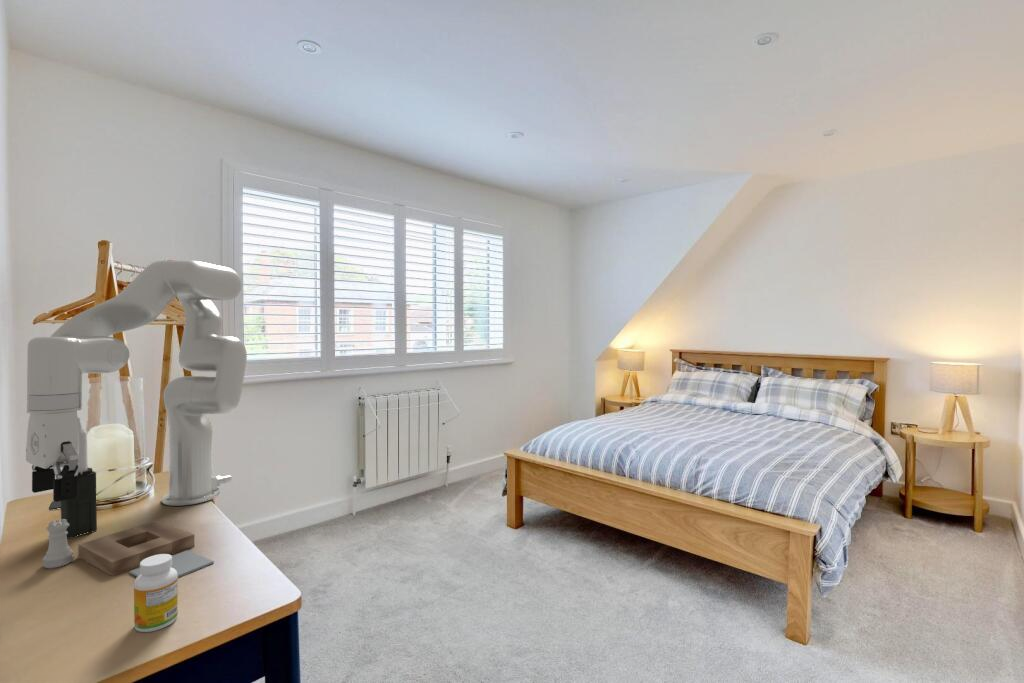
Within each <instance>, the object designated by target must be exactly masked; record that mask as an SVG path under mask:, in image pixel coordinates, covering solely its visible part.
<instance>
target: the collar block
mask: <svg viewBox="0 0 1024 683" xmlns="http://www.w3.org/2000/svg"><path fill="white" fill-rule="evenodd" d="M77 545H78V552H77V553H78V558H79V557H80V558H79V559H81V558H82V559H81V560H83V559H84V560H83V561H85V560H86V561H88V562H89V563H88V562H87V563H88V564H90V563H91V564H90V565H92V566H94V567H95V566H96V567H95V568H98V569H99V570H101V571H103V572H104V571H105V572H104V573H106V574H108V575H109V576H111V575H112V577H114V576H116V574H117V575H119V574H122V573H124V572H127V570H128V571H131V570H133V569H136V568H139V567H140V562H141V561H142V560H144V559H146V558H148V557H150V556H154V555H158V554H169V555H171V554H172V555H176V554H178V553H181V552H184V551H187V550H189V549H191V548H194V547H195V533H192V532H190V531H188V530H185V529H182V528H180V527H177V526H175V525H172V524H170V523H167V522H164V521H162V520H156V521H155V520H154V521H151V522H148V523H145V524H142V525H138V526H136V527H131V528H129V529H125V530H122V531H118V532H116V533H115V532H114V533H112V534H109V535H108V534H107V535H106V536H102V537H98V538H95V539H90V540H88V541H84V542H82V543H79V544H77ZM172 555H171V556H172ZM86 561H85V562H86ZM138 566H139V567H138ZM135 567H136V568H135ZM132 568H133V569H132ZM130 569H131V570H130ZM113 575H114V576H113Z"/></svg>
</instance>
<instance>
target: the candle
mask: <svg viewBox="0 0 1024 683" xmlns="http://www.w3.org/2000/svg"><path fill="white" fill-rule="evenodd" d="M78 427H79V459H78V463H77V465H78V469H77V471H78V476H77V497H76V498H72V499H68V500H63V501H61V509H60V522H62V519H65V520H67V523H69V526H68V528H67V529H66V531H67V532H68V534H67V537H68V538H67V539H71V538H70V537H75V536H77V535H80V534H84V533H87V532H92V531H95V530H96V529H97V530H98V520H97V516H98V514H97V504H98V503H96V493H97V472H96V471H93V468H92V467H88V433H87V431H86V429H85V428H84V427H83V425H82V422H81V418H80V417H78ZM95 532H96V531H95ZM84 535H85V534H84ZM77 537H78V536H77ZM75 538H76V537H75Z"/></svg>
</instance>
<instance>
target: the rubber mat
mask: <svg viewBox="0 0 1024 683" xmlns="http://www.w3.org/2000/svg"><path fill="white" fill-rule="evenodd" d="M171 556H172V566H171V568H174V569H175V570H176V571H177V576H178V578H181V577H184V576H185V575H188V574H190V573H194V572H196V571H198V570H200V568H201V569H203V568H205V567H208V566H210V564H211V565H213V564H214V562H215V561H214V560H212V559H210V558H209V557H208V558H207V557H205V556H203V555H201V554H199V553H196V552H193V551H191V550H189V549H186V550H183V551H180V552H178V553H175V554H172V555H171ZM212 563H213V564H212ZM128 571H129V575H131V574H132V575H131V576H133V575H134V576H133V577H135V576H136V578H137V577H138V576H139V575H141V574H140V567H136V568H133V569H131V570H128Z"/></svg>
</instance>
